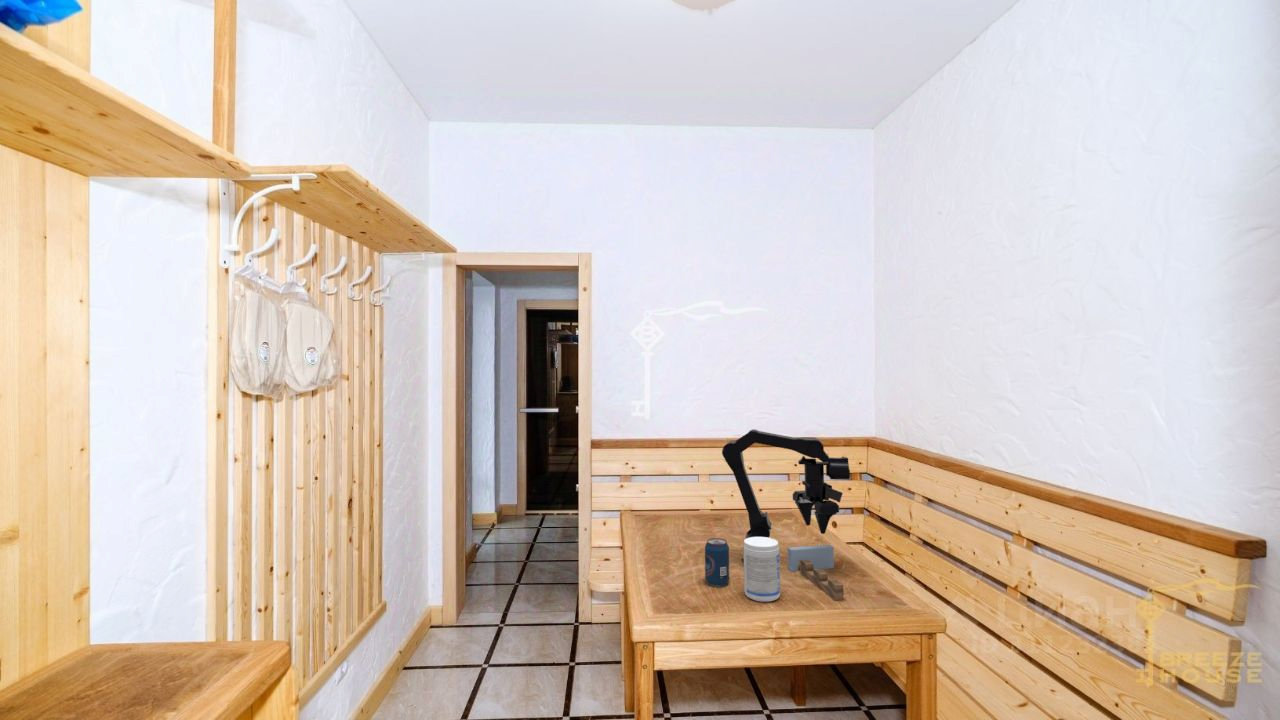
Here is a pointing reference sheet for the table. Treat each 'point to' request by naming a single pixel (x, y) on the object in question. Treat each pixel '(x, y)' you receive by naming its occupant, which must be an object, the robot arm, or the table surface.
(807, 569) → the notched rail
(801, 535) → the table surface
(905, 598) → the table surface
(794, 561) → the light blue slab
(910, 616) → the table surface
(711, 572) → the soda can
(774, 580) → the supplement tub
